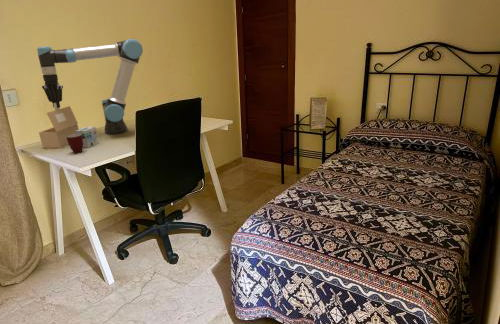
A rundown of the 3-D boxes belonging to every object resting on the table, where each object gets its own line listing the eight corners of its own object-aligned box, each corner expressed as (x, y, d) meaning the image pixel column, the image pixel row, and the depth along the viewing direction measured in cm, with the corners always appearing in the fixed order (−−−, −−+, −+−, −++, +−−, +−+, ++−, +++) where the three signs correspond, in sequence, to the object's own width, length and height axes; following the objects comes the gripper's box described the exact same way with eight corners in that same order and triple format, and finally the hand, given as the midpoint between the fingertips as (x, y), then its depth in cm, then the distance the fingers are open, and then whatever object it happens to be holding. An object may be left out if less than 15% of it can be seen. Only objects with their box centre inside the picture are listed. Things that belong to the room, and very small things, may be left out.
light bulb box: (88, 148, 208) (84, 130, 205) (78, 147, 210) (74, 130, 206) (99, 142, 218) (95, 126, 214) (89, 142, 220) (86, 126, 216)
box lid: (77, 123, 225) (78, 123, 225) (56, 131, 207) (57, 131, 206) (69, 106, 222) (69, 106, 221) (46, 112, 203) (47, 112, 203)
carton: (80, 139, 229) (77, 124, 225) (60, 148, 210) (56, 132, 207) (64, 139, 231) (61, 124, 227) (42, 148, 212) (38, 132, 209)
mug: (73, 149, 207) (69, 133, 203) (87, 148, 208) (84, 132, 205) (68, 154, 197) (64, 138, 194) (83, 153, 199) (79, 136, 195)
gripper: (35, 74, 203) (44, 114, 211) (54, 74, 201) (63, 114, 209) (44, 73, 210) (53, 111, 218) (63, 73, 207) (71, 111, 216)
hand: (58, 112), depth 213 cm, fingers closed
